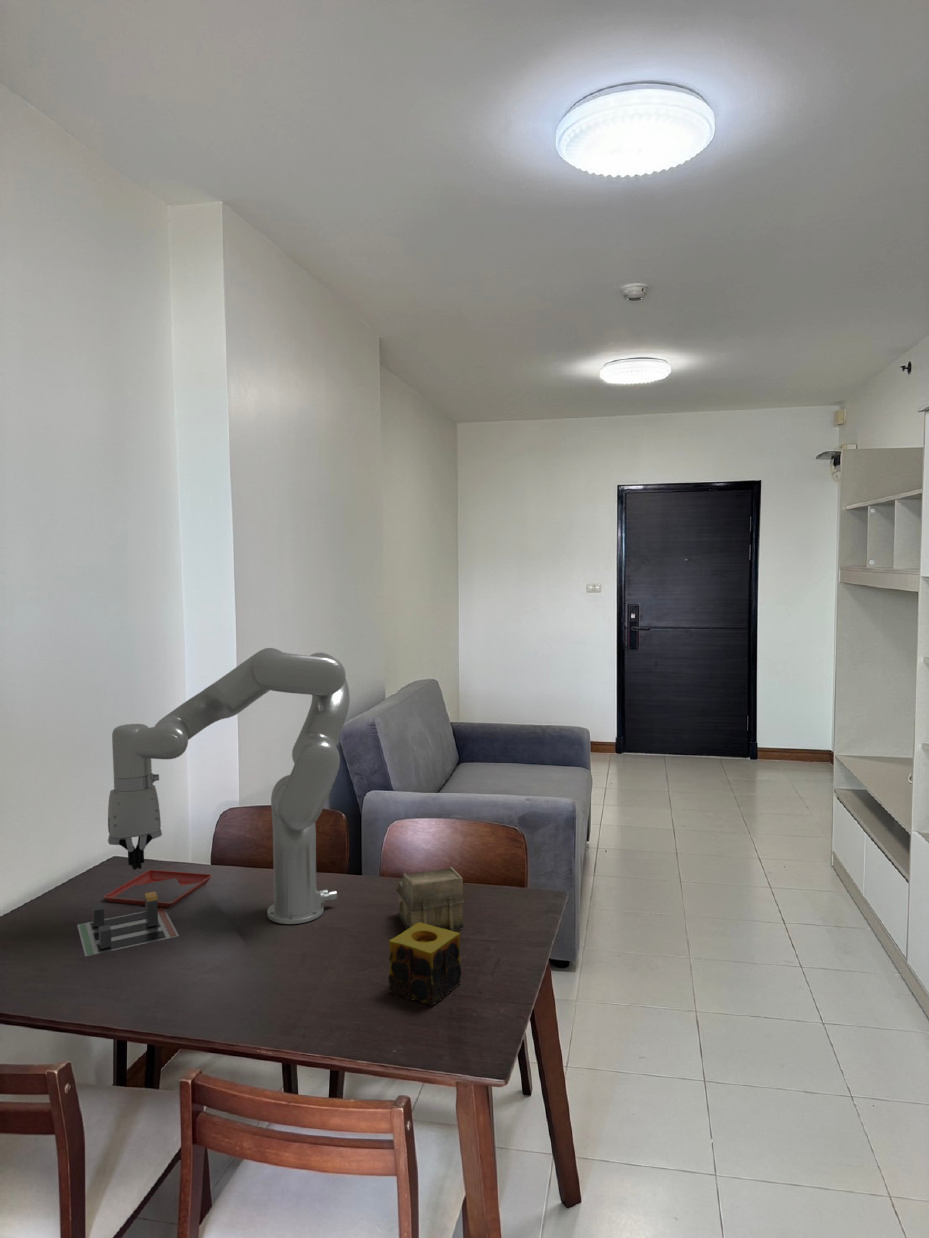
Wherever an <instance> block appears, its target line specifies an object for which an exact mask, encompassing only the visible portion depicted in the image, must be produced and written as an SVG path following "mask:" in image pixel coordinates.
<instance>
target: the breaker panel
mask: <svg viewBox="0 0 929 1238" xmlns="http://www.w3.org/2000/svg"><path fill="white" fill-rule="evenodd" d="M108 924H109V925H110V928H111V946H112V947H107V948H103V949H101V948H100V944H99V926H95V927H94V924H93V921H89V922H85V923H84V922H83V923H79V924H77V926H76V927H77V930H78V934H79V937H80V942H81V946H82V950H83V953H84V957H90V956H93V955H98V954H104V953H109V952H114V951H117V950H122V949H127V948H130V947H131V948H132V947H135V946H139V945H140V946H141V945H144V944H149V943H153V942H159V941H163V940H169V939H172V938H176V937H179V936H180V935H179V934H178V931H177V929H176V928H175V926H174V924H173V921H172V920H171V918H170V916H169V914H168V913H167V910H166V909H165V907H159V908H158V925H155V926H150V927H148V925H147V923H146V910H144V911H140V912H134V913H130V914H126V915H125V914H124V915H119V916H115V917H108V918H104V925H108ZM100 926H103V925H100Z"/></svg>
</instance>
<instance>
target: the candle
mask: <svg viewBox="0 0 929 1238" xmlns="http://www.w3.org/2000/svg"><path fill="white" fill-rule="evenodd" d="M460 940H461V933H460V932H457V931H455V932H454V931H450V930H447V929H443V928H439V927H435V926H432V925H428V924H424V923H421V922H419V923H416V924H415V925H413V926H412V927H411V928H409V929H407V928H406V929H405V930H404V931H403V932H401V933H400V934H398V935H396V936H395V937H393V938H391V939H389V941H388V944H389V946H388V947H389V959H388V960H389V972H388V973H389V975H388V985H389V986H388V991H389V993H391V994H393V995H396V996H399V995H400V996H399V997H401V996H403V997H402V998H404V997H406V998H405V999H407V998H408V999H407V1000H410V999H414V1000H419V1001H421V1002H420V1003H422V1002H423V1003H422V1004H424V1003H425V1004H424V1005H426V1004H428V1005H430V1006H429V1007H434V1006H435V1005H434V1003H437V1002H438V1001H439V1002H440V999H442V998H443V997H444V996H446V995H447V996H448V994H447V993H448V992H450V991H451V989H453V987H455V986H456V985H459V986H460V984H461V977H462V969H461V967H462V963H461V950H460V947H461V943H460V942H461V941H460ZM459 983H460V984H459ZM453 990H454V989H453ZM451 992H452V991H451ZM451 992H450V993H451ZM447 996H446V997H447ZM444 998H445V997H444ZM444 998H443V999H444ZM443 999H442V1000H443ZM414 1000H413V1001H414ZM419 1001H418V1002H419ZM439 1002H438V1003H439ZM438 1003H437V1004H438ZM428 1005H427V1006H428ZM433 1005H434V1006H433Z"/></svg>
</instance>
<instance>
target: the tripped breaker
mask: <svg viewBox="0 0 929 1238" xmlns="http://www.w3.org/2000/svg"><path fill="white" fill-rule="evenodd" d="M144 899H145V905H144V906H145V911H146V923H147V925H148V927H150V926H155V925H158V909H159V908H158V907H159V906H158V902H159V901H158V900H159V898H158V895H157V892H156V891H151V892H150V891H149V892H144ZM157 901H158V902H157Z"/></svg>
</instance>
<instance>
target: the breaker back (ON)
mask: <svg viewBox="0 0 929 1238" xmlns="http://www.w3.org/2000/svg"><path fill="white" fill-rule="evenodd" d="M91 909H92V910H91V914H92V915H91V916H92V922H93V924H94V927H95V926H100V925H104V919H105V911H104V910H105V908H104V906H103V904H102V903H100V904H95V905H92V906H91Z"/></svg>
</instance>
